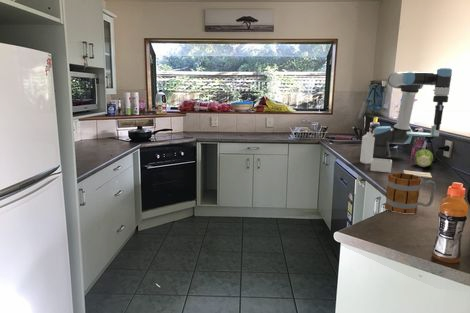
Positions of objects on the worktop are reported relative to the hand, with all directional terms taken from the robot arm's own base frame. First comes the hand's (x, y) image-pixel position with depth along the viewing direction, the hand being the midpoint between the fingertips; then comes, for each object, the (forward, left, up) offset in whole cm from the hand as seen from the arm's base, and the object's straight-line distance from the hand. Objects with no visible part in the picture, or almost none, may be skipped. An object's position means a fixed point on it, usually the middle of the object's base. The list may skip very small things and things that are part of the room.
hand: (435, 134), depth 208 cm
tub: (0, -28, -25) cm, 38 cm away
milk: (-19, -38, -26) cm, 49 cm away
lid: (0, -7, -1) cm, 7 cm away
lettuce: (-27, -2, -26) cm, 37 cm away
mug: (+73, -15, -26) cm, 79 cm away
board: (0, -7, -25) cm, 26 cm away
